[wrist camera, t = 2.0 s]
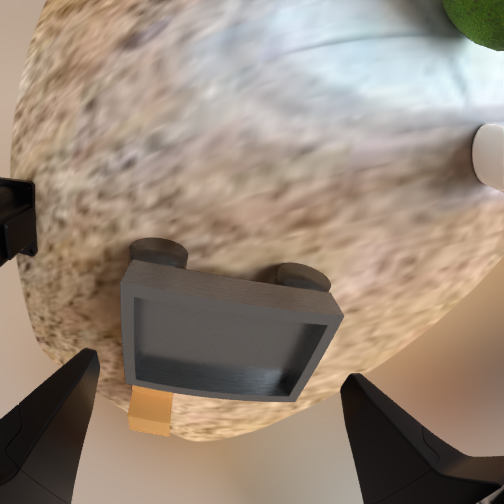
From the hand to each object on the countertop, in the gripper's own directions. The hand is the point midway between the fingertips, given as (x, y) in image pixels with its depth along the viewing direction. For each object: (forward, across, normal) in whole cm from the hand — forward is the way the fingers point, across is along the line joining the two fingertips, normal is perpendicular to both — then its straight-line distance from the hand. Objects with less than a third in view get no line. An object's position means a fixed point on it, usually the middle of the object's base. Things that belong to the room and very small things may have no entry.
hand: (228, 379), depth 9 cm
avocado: (+13, -16, -26) cm, 33 cm away
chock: (+13, +4, +16) cm, 21 cm away
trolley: (+13, -1, +6) cm, 14 cm away
